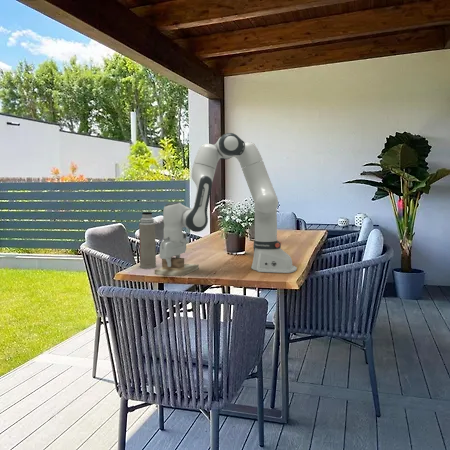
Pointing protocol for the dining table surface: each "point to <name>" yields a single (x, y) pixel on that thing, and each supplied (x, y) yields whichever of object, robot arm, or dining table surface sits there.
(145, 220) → the thermos bottle
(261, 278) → the dining table surface
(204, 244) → the dining table surface
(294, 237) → the dining table surface
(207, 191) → the robot arm
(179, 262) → the block
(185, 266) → the board
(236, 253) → the dining table surface
